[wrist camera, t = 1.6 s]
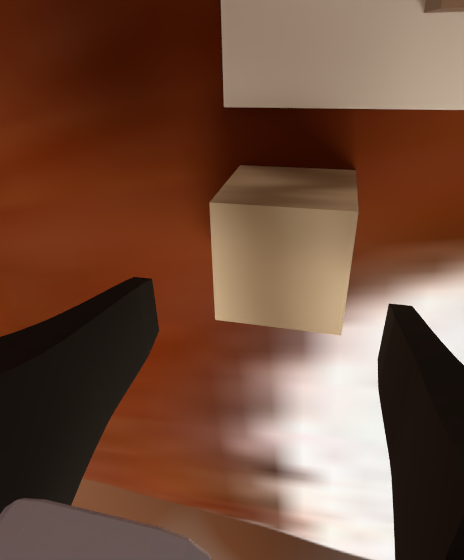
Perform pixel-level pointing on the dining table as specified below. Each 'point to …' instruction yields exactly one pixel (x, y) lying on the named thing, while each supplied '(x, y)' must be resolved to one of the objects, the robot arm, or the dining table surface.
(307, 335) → the dining table surface
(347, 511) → the dining table surface
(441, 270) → the dining table surface
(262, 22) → the build board
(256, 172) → the maple cube
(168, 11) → the dining table surface
